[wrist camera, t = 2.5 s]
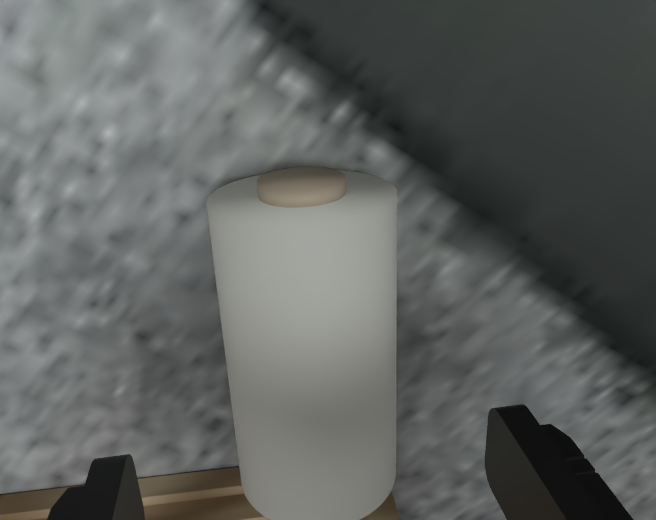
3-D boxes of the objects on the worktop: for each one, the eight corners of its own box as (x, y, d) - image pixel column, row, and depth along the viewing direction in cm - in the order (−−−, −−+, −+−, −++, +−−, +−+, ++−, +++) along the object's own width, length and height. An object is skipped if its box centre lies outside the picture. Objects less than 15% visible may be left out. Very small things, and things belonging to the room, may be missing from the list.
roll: (212, 161, 19) (194, 215, 14) (378, 150, 19) (417, 199, 14) (244, 436, 23) (239, 550, 18) (381, 422, 23) (411, 530, 18)
